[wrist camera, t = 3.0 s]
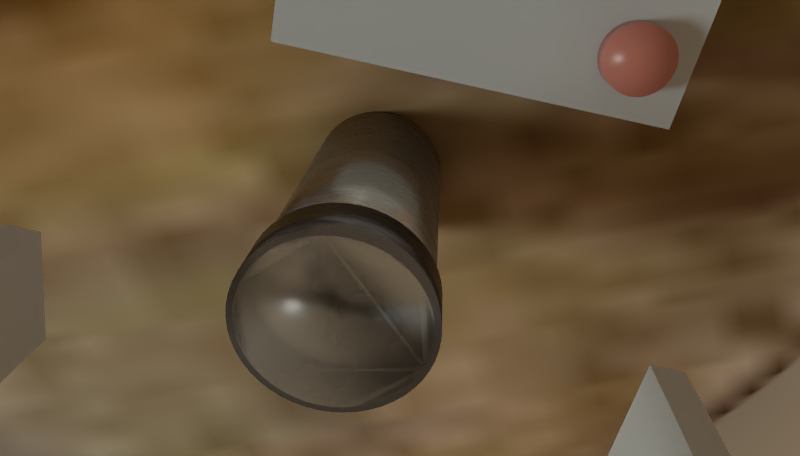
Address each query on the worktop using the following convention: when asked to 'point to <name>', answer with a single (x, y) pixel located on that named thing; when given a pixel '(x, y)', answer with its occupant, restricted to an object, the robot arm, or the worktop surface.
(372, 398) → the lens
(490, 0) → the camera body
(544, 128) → the worktop surface
